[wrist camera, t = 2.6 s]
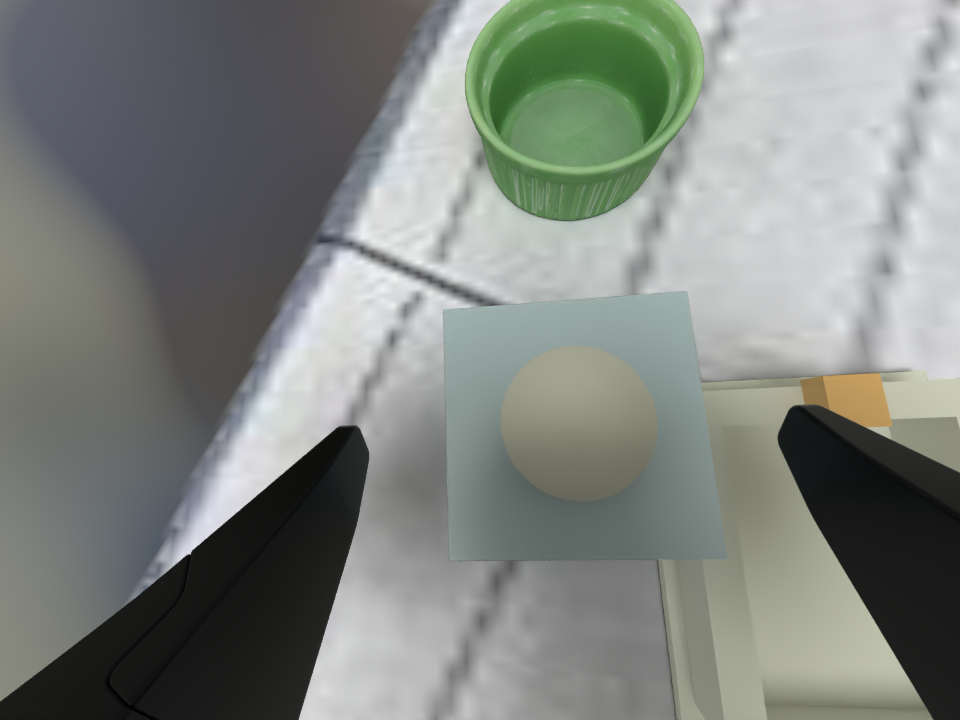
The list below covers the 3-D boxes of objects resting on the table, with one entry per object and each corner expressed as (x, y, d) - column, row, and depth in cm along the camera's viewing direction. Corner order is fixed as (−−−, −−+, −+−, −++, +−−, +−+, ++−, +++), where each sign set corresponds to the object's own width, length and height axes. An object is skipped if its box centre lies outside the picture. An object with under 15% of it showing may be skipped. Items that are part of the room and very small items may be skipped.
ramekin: (614, 45, 20) (639, -63, 15) (698, 187, 18) (753, 110, 14) (452, 115, 20) (432, 28, 16) (518, 262, 18) (515, 210, 14)
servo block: (607, 520, 16) (777, 701, 5) (496, 522, 16) (440, 691, 6) (589, 340, 17) (693, 189, 6) (488, 346, 18) (431, 216, 7)
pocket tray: (1009, 760, 13) (1221, 905, 9) (679, 746, 14) (740, 869, 10) (910, 373, 15) (1042, 352, 11) (637, 387, 16) (672, 373, 12)
